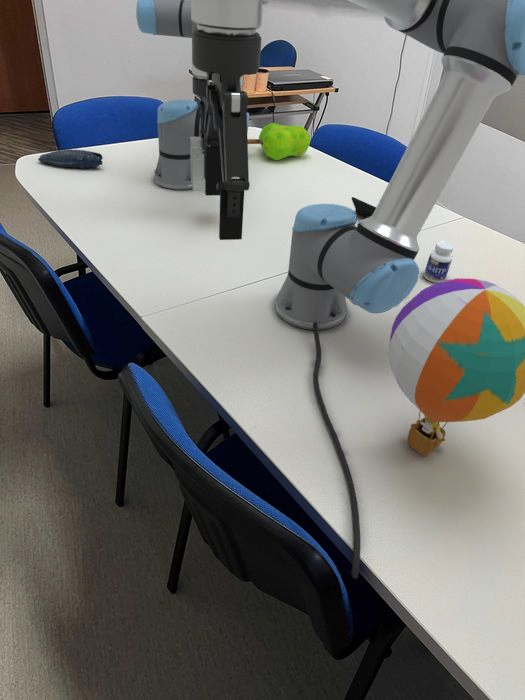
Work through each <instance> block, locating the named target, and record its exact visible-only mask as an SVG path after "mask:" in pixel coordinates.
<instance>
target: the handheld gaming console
mask: <svg viewBox="0 0 525 700" xmlns="http://www.w3.org/2000/svg"><path fill="white" fill-rule="evenodd" d="M351 201H352V204H353V206H354V209H355V211H354V212H355V213H356V214H359V215H360V216H362V217H364V218H369V217H371V216H372V215H373V213H374V211H375V209H376V207H377V206H374V205H372V204H370V203H367V202H365V201H363V200H360V199H358V198H356V197H354V196H352V197H351Z"/></svg>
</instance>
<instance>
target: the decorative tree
mask: <svg viewBox="0 0 525 700" xmlns="http://www.w3.org/2000/svg"><path fill="white" fill-rule="evenodd" d="M247 139H248V145H260V146H261V148H262V150H263V152H264V154H265V155H266V157H267V158H269V159H272V160H273V161H281V160H283V159H285V158H287V157H300V156H302V155H305V154H306V153H307V151H308V148H309V147H310V145H311V136H310V133H309V132H308V131H307V130H306V129H305V128H304V127H303V126H302V125H283V124H278V123H275V122H271V123H269V124H267V125H265V126H263V127H262V129H261V131H260V133H259V135H258V138H247Z"/></svg>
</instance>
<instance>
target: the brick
mask: <svg viewBox="0 0 525 700" xmlns="http://www.w3.org/2000/svg"><path fill="white" fill-rule="evenodd" d="M202 151H205V137H190V173H191V182H192V187H193V188H192V191H205V179H204V154H202Z"/></svg>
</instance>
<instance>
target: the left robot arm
mask: <svg viewBox="0 0 525 700" xmlns="http://www.w3.org/2000/svg"><path fill="white" fill-rule="evenodd" d="M135 10H136V11H135V12H136V13H135V14H136V23H137V27H138V29H139V30H140V32H142V33H144V34H150V35H153V36H164V37H165V36H167V37H176V38H185V39H186V38H187V39H192V32H193V31H194V29H195V28H197V24H195V23H194V22H193V21H192V20H191V0H137V2H136V8H135ZM191 73H192V74H193V76H192V80H191V81H192V94H193V95H195V96H197V97H199V98H200V101H199V105H198V102H197V101H196V100H194V99H193V100H192V99H173V100H169V101H166V102H165V101H164V102H163V103H161V104H159V106H158V107H157V117H156V118H157V120H156V124H157V136H158V159H157V163H156V166H153V175H154V177H153V178H154V182H155V184H156V185H158V186H160V187H162V188H165V189H169V190H175V191H176V190H179V191H181V190H182V191H184V190H193V187H192V182H191V173H190V137H206V136H204V133H203V129H204V119H205V105H206V86H207V73H206V72H203V71H200V70H198V69H196V68H195V67H194V65H193V63H192V62H191ZM243 84H244V75H243V76H241V77H240V86H241V91H243ZM249 125H250V113H249V112H247V133H248V132H249ZM205 147H209V145H206V143H205ZM202 154H204V179H205V151H202Z"/></svg>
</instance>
